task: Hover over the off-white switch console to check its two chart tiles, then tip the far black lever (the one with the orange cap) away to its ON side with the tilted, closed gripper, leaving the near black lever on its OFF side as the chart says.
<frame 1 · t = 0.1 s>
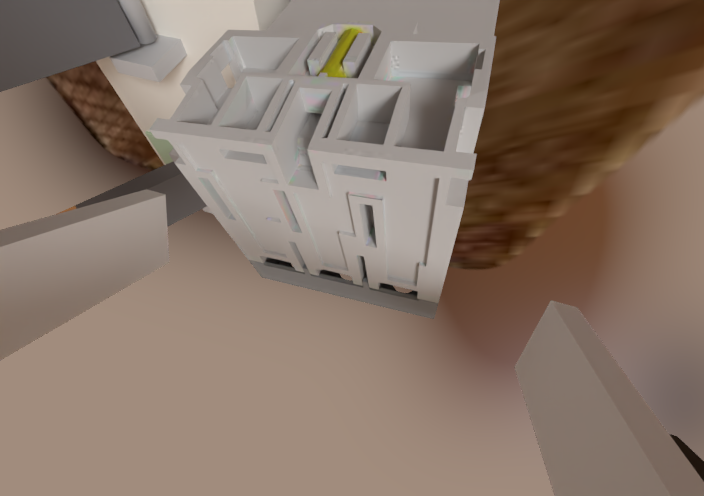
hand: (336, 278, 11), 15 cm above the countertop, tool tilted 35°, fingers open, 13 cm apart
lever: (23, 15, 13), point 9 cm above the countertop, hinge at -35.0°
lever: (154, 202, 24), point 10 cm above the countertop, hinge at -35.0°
circuit breaker: (416, 68, 20), on the countertop
console: (226, 53, 23), on the countertop
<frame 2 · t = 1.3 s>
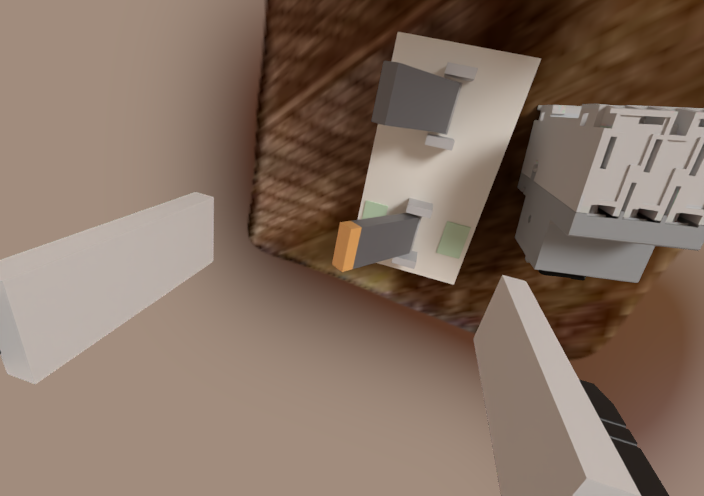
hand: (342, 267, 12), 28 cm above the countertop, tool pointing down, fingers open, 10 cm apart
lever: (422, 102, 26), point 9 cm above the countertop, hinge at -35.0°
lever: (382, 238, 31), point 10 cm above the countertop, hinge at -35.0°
circuit breaker: (557, 180, 34), on the countertop
console: (429, 165, 36), on the countertop
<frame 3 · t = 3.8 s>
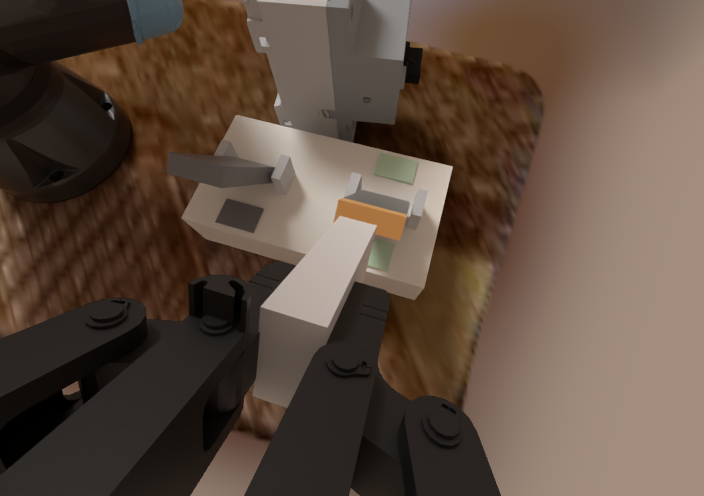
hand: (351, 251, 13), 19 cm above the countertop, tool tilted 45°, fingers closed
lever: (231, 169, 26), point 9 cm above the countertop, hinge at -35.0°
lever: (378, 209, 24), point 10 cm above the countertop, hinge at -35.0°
circuit breaker: (349, 118, 39), on the countertop
console: (325, 216, 34), on the countertop
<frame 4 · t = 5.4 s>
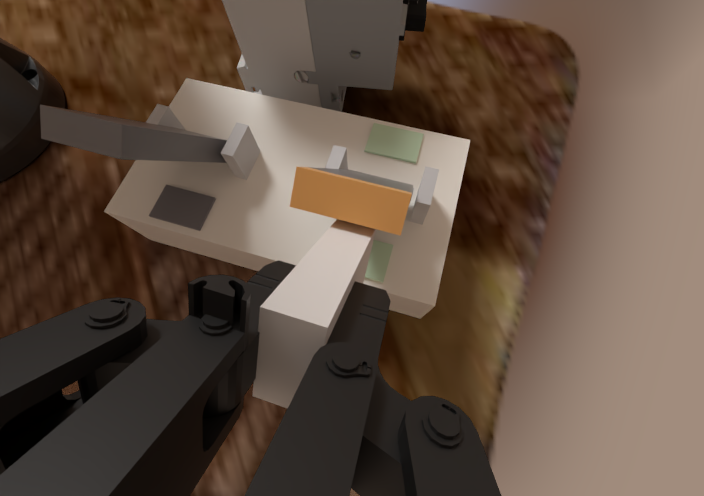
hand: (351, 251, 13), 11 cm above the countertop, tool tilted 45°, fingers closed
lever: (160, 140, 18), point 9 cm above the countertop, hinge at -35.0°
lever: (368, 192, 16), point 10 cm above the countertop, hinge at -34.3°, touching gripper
circuit breaker: (336, 88, 31), on the countertop
console: (304, 208, 27), on the countertop
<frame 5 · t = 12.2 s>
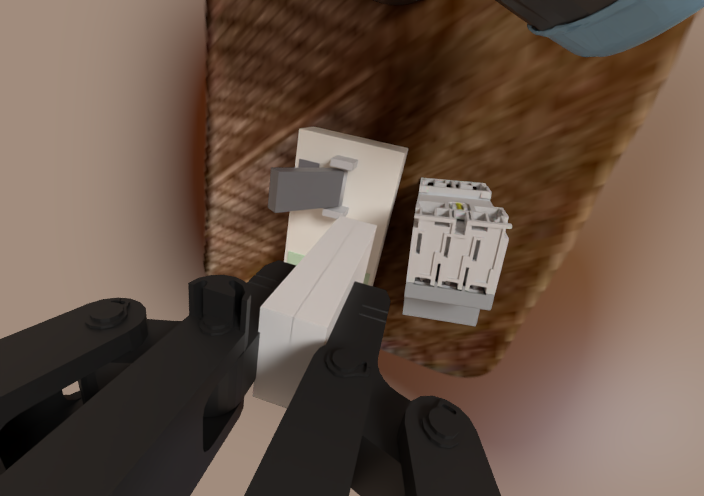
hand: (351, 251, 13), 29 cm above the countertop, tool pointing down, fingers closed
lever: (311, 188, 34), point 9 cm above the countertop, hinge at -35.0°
circuit breaker: (443, 234, 42), on the countertop
console: (344, 220, 44), on the countertop
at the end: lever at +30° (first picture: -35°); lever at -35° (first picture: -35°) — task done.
